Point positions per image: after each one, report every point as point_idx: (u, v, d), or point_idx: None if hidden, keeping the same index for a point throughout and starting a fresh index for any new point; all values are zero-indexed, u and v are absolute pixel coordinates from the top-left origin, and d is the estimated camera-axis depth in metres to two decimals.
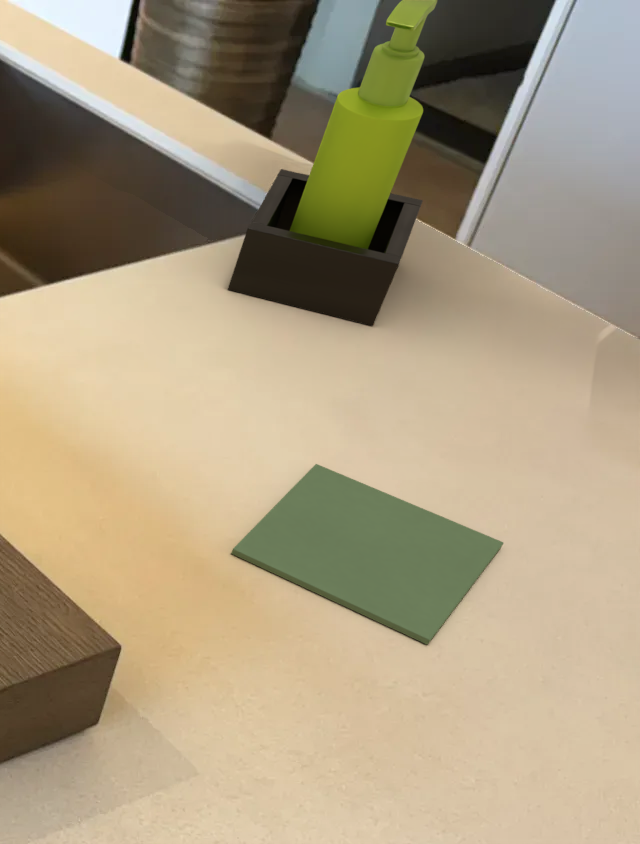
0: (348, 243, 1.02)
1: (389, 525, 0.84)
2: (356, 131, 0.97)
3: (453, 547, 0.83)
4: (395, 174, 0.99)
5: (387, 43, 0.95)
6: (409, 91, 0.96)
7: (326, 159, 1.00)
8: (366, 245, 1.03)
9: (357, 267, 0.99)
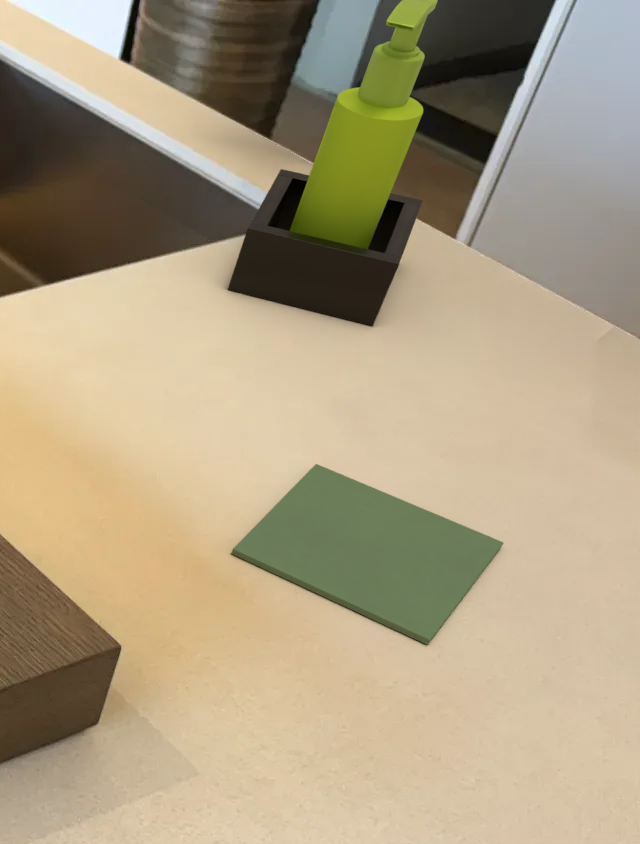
0: (348, 243, 1.02)
1: (389, 525, 0.84)
2: (356, 131, 0.97)
3: (453, 547, 0.83)
4: (395, 174, 0.99)
5: (387, 43, 0.95)
6: (409, 91, 0.96)
7: (326, 159, 1.00)
8: (366, 245, 1.03)
9: (357, 267, 0.99)
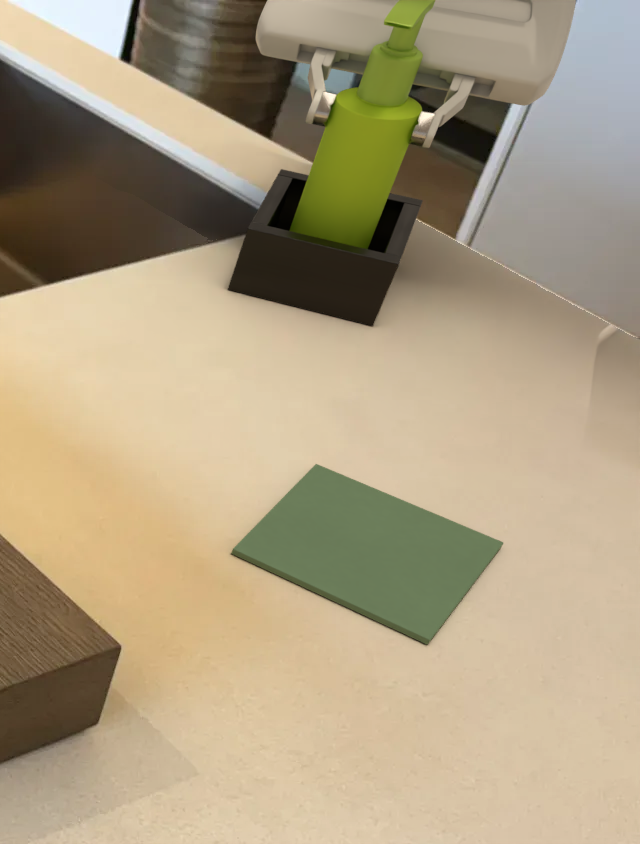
0: (348, 243, 1.02)
1: (389, 525, 0.84)
2: (355, 131, 0.97)
3: (453, 547, 0.83)
4: (394, 173, 0.99)
5: (385, 43, 0.95)
6: (408, 90, 0.96)
7: (325, 159, 1.00)
8: (366, 245, 1.03)
9: (357, 267, 0.99)
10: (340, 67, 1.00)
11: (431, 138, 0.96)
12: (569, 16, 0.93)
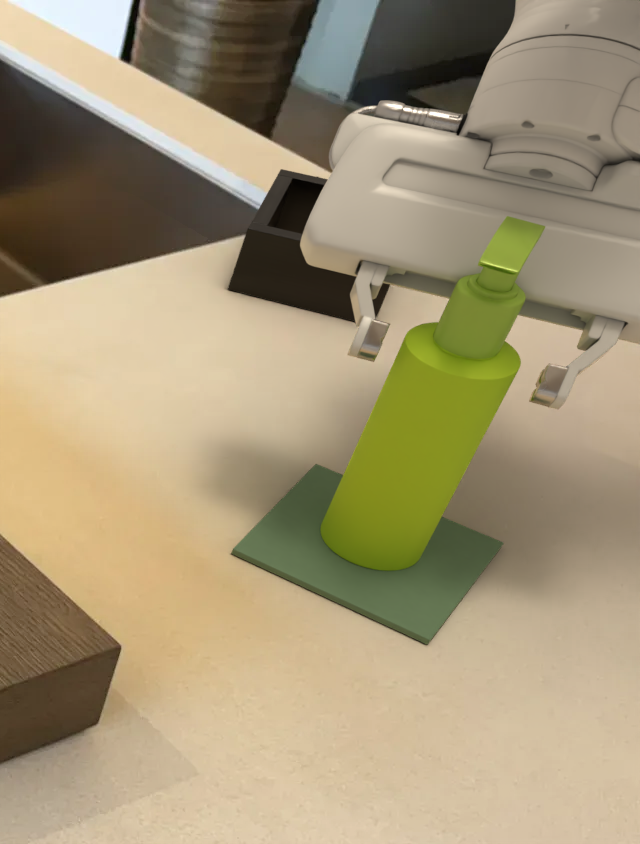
0: (416, 519, 0.78)
1: None
2: (432, 389, 0.73)
3: (453, 547, 0.83)
4: (481, 438, 0.75)
5: (475, 277, 0.71)
6: (503, 340, 0.72)
7: (390, 417, 0.76)
8: (439, 518, 0.79)
9: None
10: (413, 287, 0.76)
11: (563, 400, 0.71)
12: None
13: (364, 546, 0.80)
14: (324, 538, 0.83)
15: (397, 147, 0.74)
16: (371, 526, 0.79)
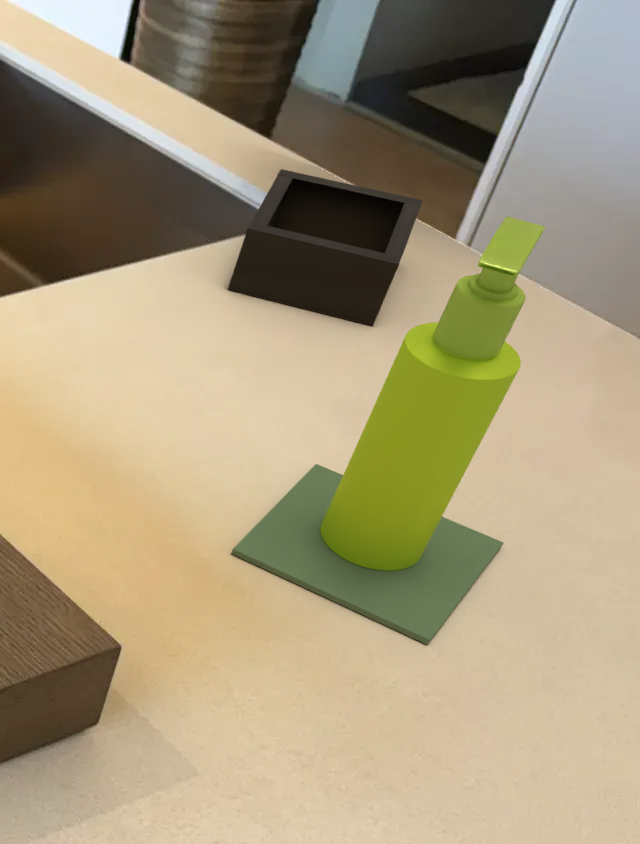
0: (416, 519, 0.78)
1: None
2: (432, 389, 0.73)
3: (453, 547, 0.83)
4: (481, 438, 0.75)
5: (475, 278, 0.71)
6: (503, 340, 0.72)
7: (389, 417, 0.76)
8: (438, 518, 0.79)
9: (357, 267, 0.99)
10: None
11: None
12: None
13: (364, 546, 0.80)
14: (324, 538, 0.83)
15: None
16: (371, 526, 0.79)
